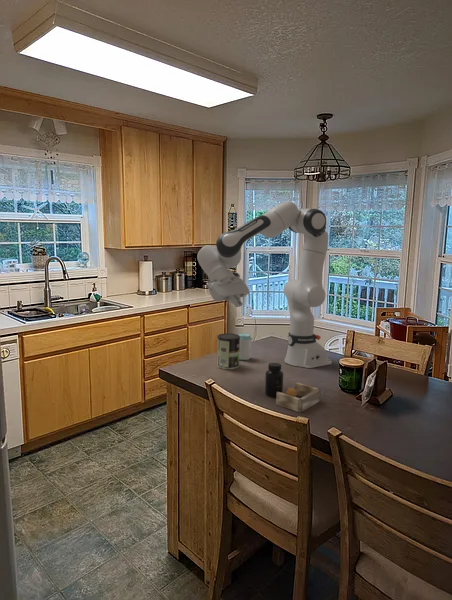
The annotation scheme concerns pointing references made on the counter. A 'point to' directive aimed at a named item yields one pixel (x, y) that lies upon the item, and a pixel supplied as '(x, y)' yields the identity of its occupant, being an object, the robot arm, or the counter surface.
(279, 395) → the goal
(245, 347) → the teal lidded jar
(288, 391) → the ball
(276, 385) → the supplement bottle
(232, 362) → the coffee can
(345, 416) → the counter surface
